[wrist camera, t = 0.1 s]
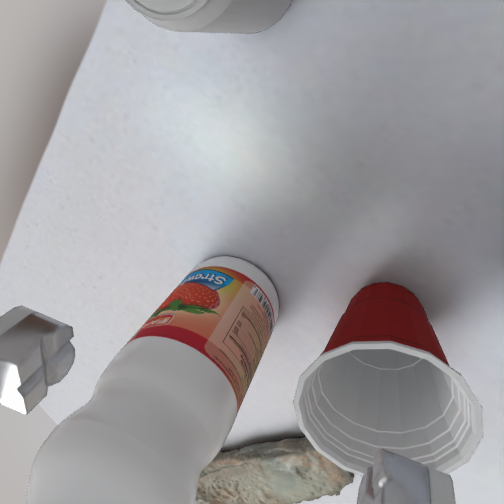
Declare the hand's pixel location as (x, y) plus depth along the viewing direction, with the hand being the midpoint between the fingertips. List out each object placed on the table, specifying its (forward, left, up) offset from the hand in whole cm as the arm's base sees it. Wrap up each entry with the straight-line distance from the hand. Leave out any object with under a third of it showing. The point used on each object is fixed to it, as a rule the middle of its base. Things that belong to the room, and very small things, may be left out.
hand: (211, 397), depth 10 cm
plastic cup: (+11, +8, -23) cm, 27 cm away
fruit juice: (+15, -6, -23) cm, 28 cm away
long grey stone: (+42, -1, -23) cm, 48 cm away
